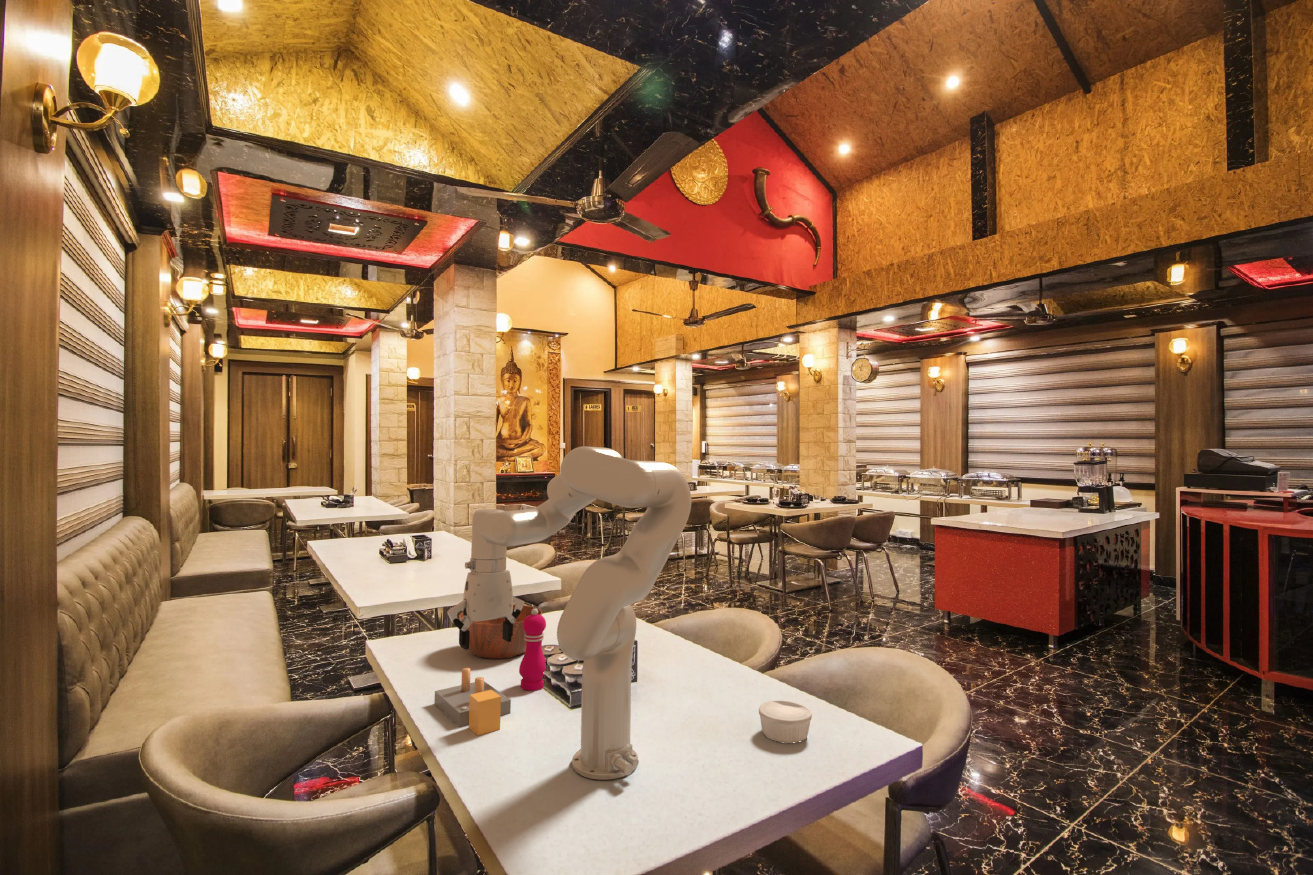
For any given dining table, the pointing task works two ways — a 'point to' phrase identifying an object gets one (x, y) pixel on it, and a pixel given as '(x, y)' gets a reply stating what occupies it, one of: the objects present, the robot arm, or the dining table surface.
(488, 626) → the bowl
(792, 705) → the ramekin
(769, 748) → the dining table surface
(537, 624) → the pepper mill
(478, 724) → the upright wooden block
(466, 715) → the peg board base
